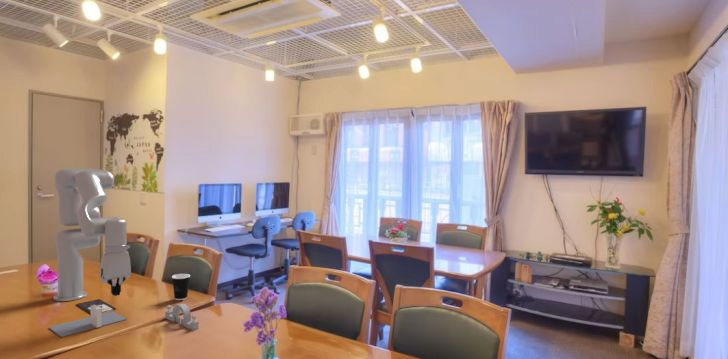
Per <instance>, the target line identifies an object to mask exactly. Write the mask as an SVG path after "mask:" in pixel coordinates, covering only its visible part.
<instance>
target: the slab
mask: <svg viewBox="0 0 728 359" xmlns="http://www.w3.org/2000/svg"><path fill="white" fill-rule="evenodd" d="M102 314H103V313H102V308H100V307H98V306H97V305H92V306H91V314H90V313H89V315H90V316H89V317H90V324H92V325H93V326H95V327H98V328H102V327H103V326H102ZM101 326H102V327H101Z"/></svg>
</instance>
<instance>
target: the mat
mask: <svg viewBox="0 0 728 359" xmlns="http://www.w3.org/2000/svg"><path fill="white" fill-rule="evenodd" d="M123 321H124V322H125V321H128V320H127V318H126V317H124V316H122V315H121V314H118V313H117V312H115V311H114V310H111V311H107V312H103V313H102V326H101V327H100V328H102V327H106V326H109V325H112V324H116V323H120V322H123ZM98 328H99V327H95V326H93V325H92V324H90V316H88V317H84V318H80V319H77V320H72V321H68V322H63V323H60V324H55V325H53V326H49V327H48V329H50V330H51V332H53V333H55V334H56V335H58V337H60V338H63V337H68V336H72V335H75V334H80V333H83V332H86V331H90V330H94V329H98Z"/></svg>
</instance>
